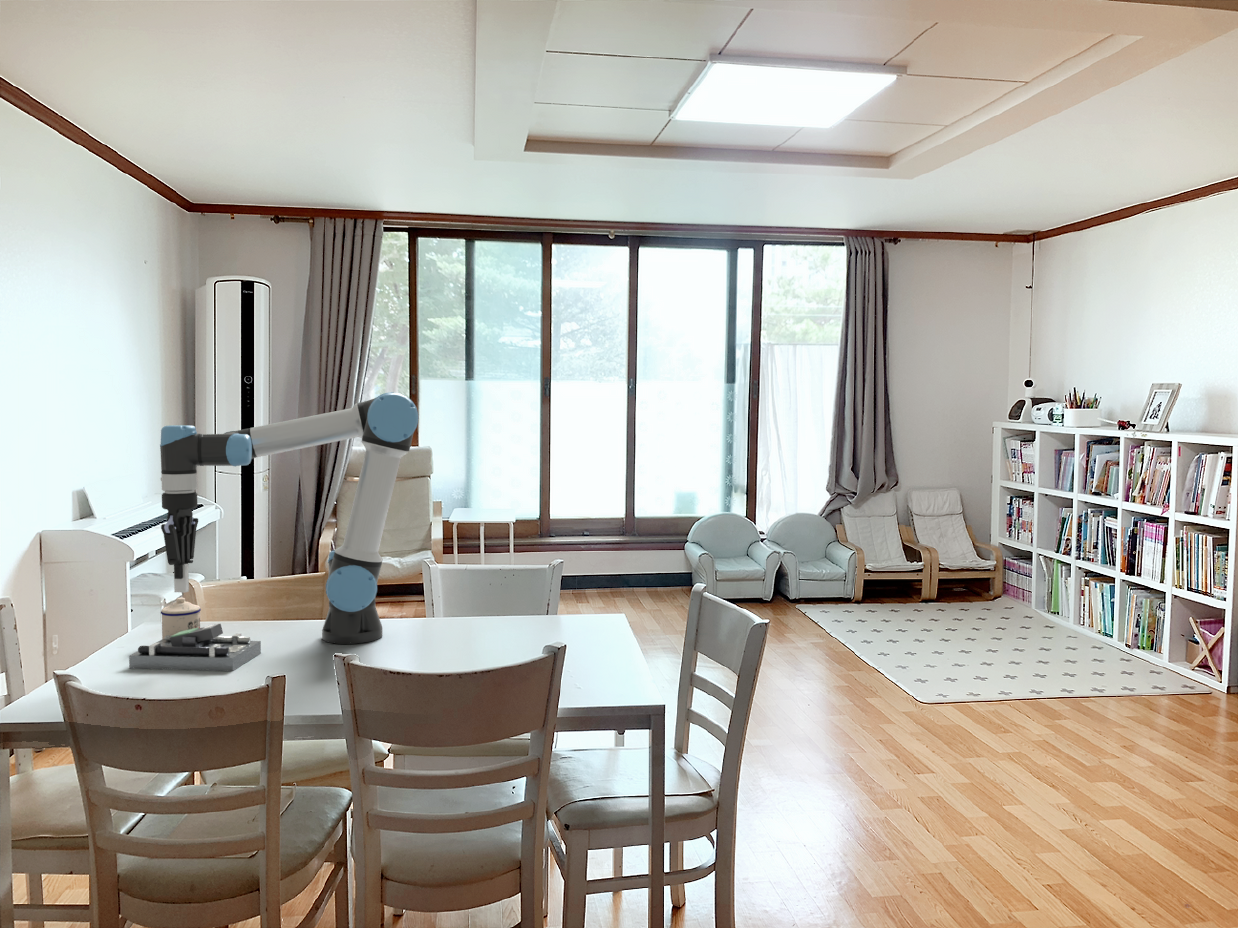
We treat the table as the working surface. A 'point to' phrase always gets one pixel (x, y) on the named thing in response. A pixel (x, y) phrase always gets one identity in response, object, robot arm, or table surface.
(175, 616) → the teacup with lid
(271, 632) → the table surface
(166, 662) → the panel
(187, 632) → the rocker
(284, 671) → the table surface
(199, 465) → the robot arm
